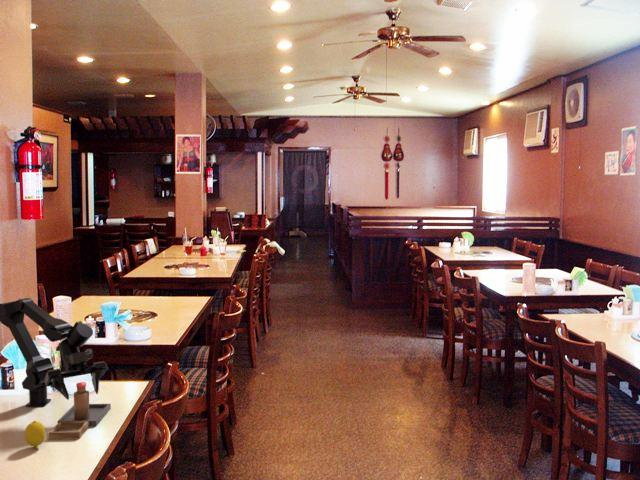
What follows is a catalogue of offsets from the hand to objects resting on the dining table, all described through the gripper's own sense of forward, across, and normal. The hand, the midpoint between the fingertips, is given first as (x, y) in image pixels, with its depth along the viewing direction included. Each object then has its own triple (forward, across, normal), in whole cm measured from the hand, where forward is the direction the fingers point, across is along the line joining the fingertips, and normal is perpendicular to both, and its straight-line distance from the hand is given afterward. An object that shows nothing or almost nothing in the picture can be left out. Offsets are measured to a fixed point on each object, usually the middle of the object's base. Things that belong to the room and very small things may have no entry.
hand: (83, 396), depth 201 cm
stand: (+11, -7, +1) cm, 13 cm away
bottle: (+4, 0, +6) cm, 8 cm away
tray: (+3, +2, +9) cm, 10 cm away
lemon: (+14, -18, -2) cm, 23 cm away
